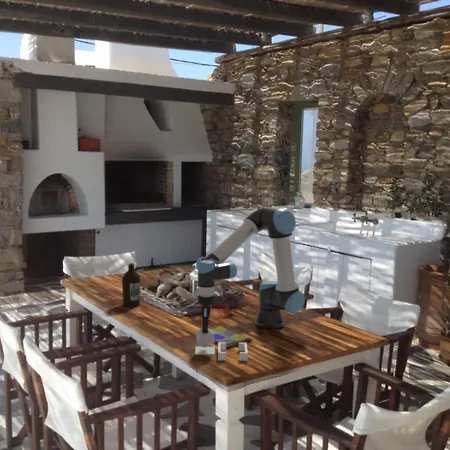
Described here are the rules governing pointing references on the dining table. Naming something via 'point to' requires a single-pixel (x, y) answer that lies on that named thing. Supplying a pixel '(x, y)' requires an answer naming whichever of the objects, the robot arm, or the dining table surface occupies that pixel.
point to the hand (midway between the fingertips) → (205, 344)
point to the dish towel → (229, 337)
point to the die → (205, 338)
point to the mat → (204, 351)
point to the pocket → (241, 348)
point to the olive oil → (131, 287)
